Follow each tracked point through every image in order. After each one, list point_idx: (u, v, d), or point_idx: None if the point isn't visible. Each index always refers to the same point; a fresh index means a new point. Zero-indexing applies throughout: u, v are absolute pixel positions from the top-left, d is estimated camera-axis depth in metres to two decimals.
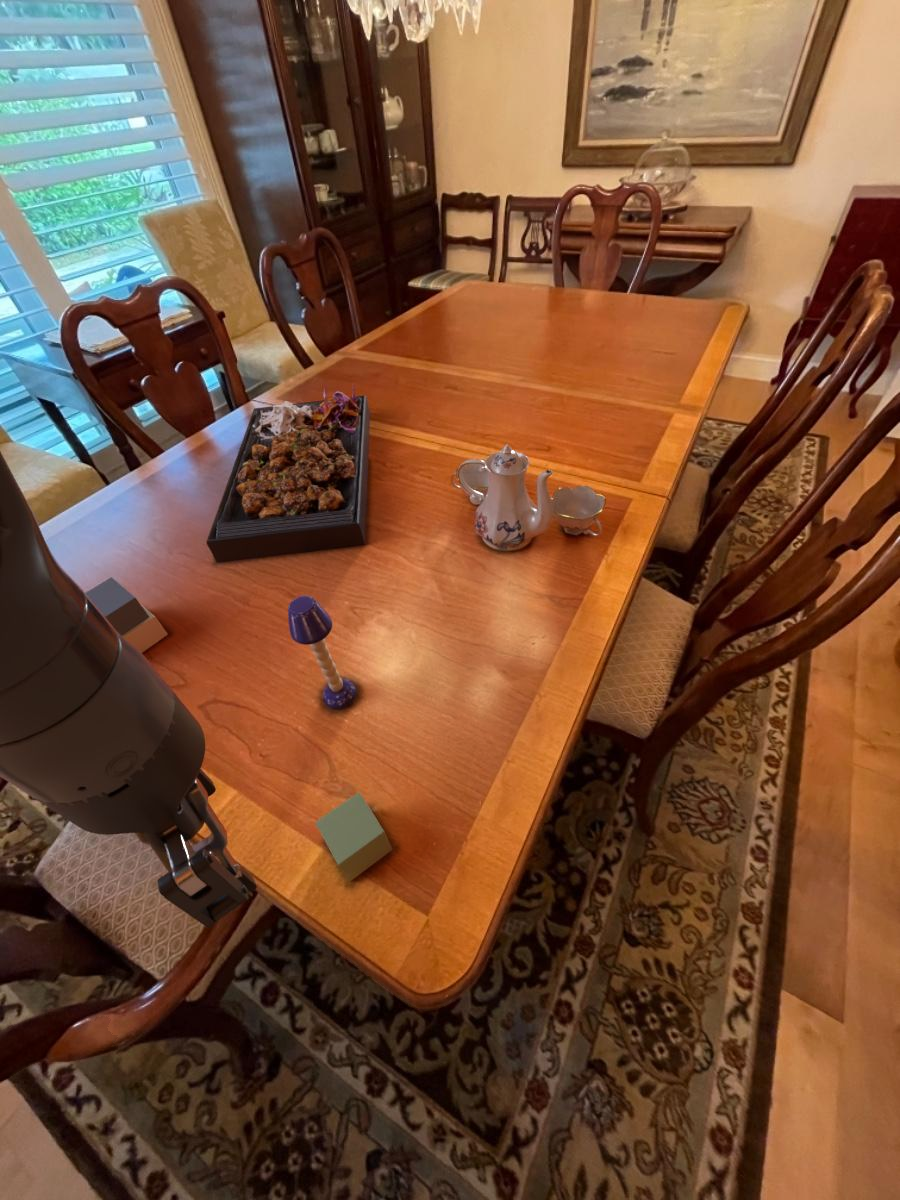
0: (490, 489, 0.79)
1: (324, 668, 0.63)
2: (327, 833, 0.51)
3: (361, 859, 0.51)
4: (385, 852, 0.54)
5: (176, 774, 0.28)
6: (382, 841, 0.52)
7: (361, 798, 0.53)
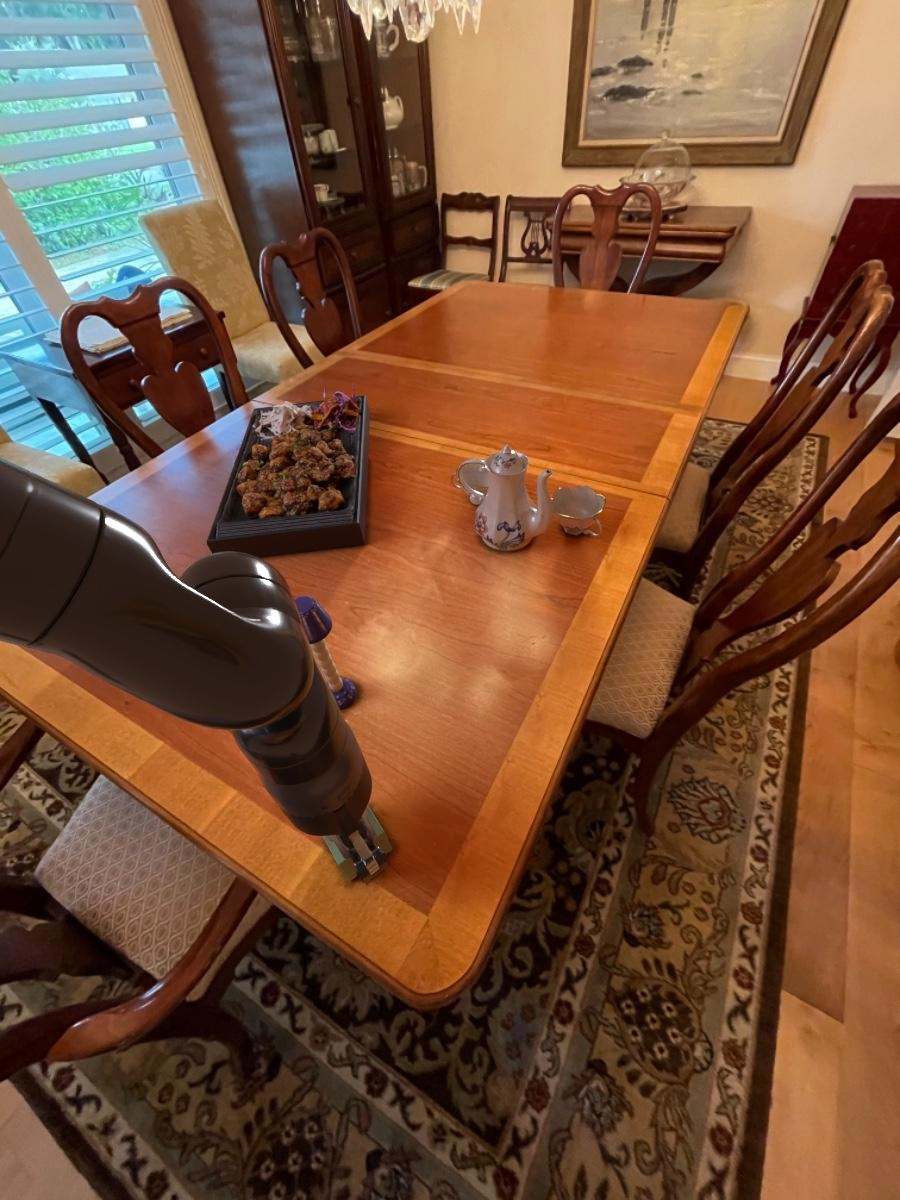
0: (490, 489, 0.79)
1: (324, 668, 0.63)
2: None
3: None
4: (385, 852, 0.54)
5: (363, 797, 0.43)
6: (382, 841, 0.52)
7: None
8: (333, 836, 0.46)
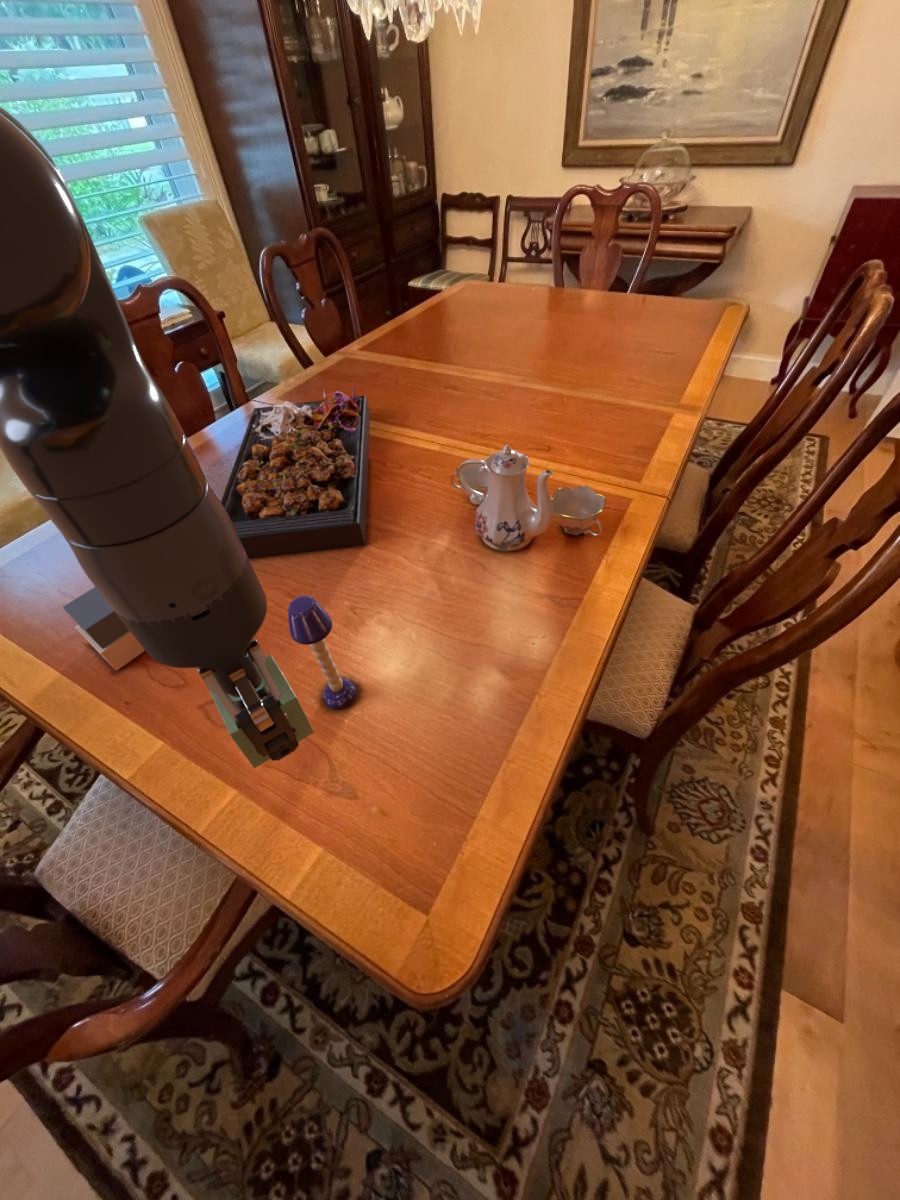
0: (490, 489, 0.79)
1: (324, 668, 0.63)
2: None
3: None
4: (304, 734, 0.41)
5: (246, 615, 0.31)
6: (295, 713, 0.39)
7: (272, 661, 0.41)
8: (214, 684, 0.34)
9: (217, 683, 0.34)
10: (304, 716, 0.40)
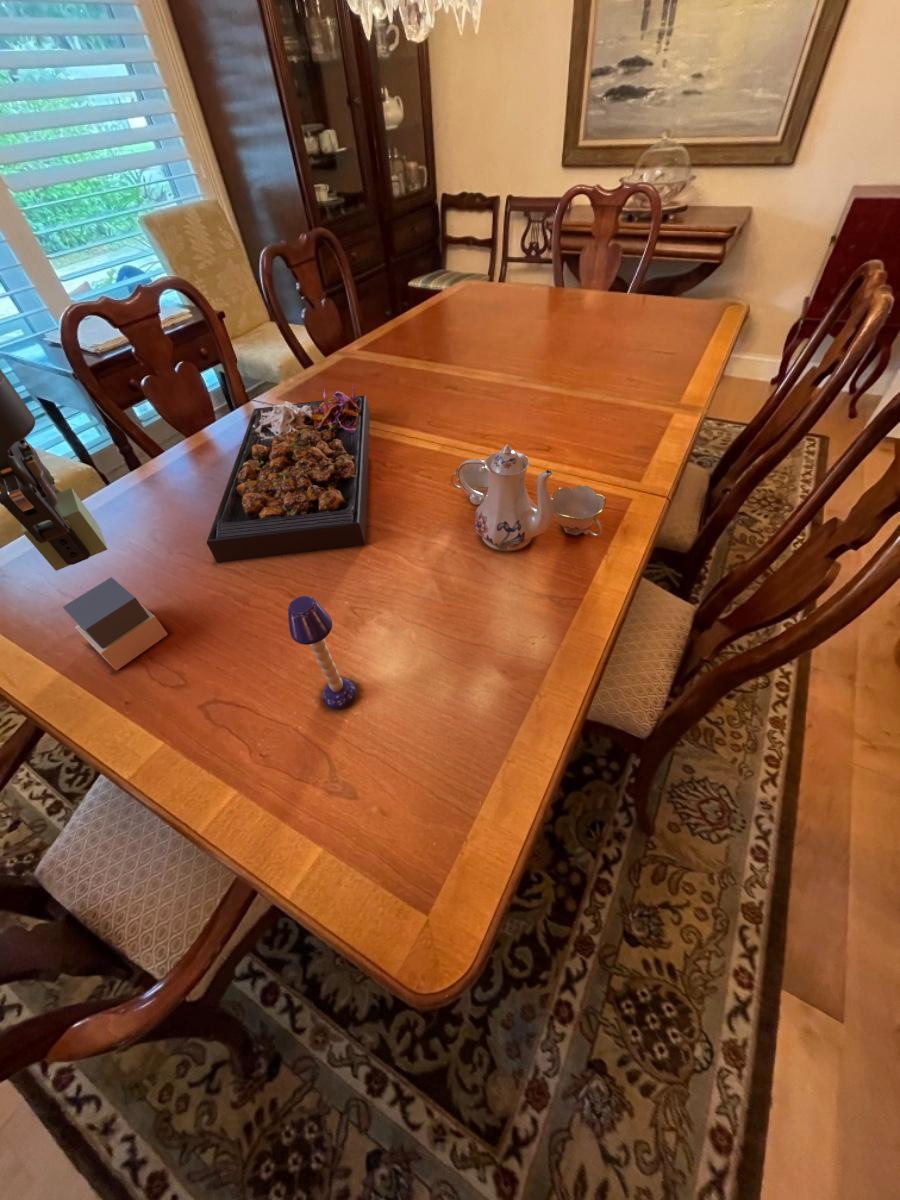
0: (490, 489, 0.79)
1: (324, 668, 0.63)
2: None
3: None
4: (97, 549, 0.54)
5: (3, 422, 0.43)
6: (82, 526, 0.52)
7: (70, 491, 0.53)
8: None
9: None
10: (92, 531, 0.53)
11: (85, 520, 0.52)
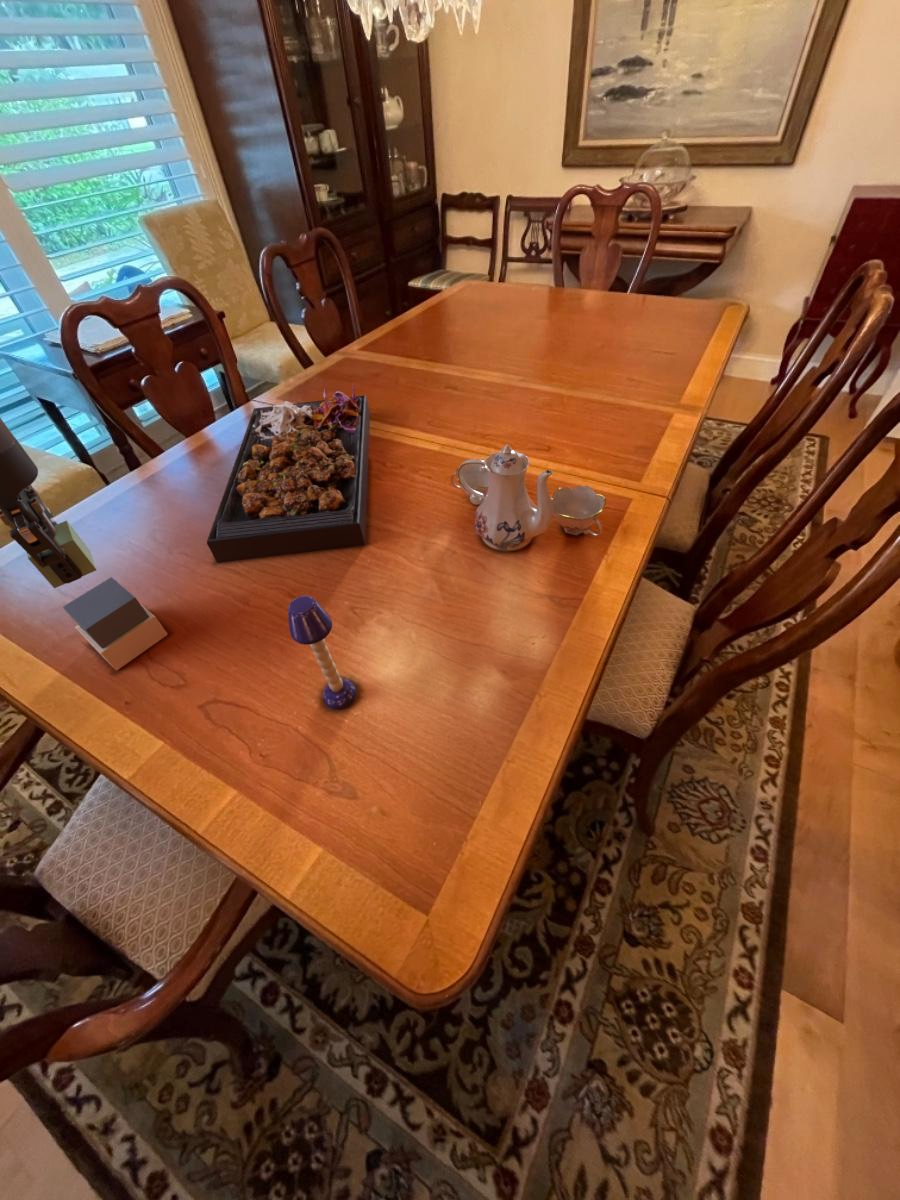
0: (490, 489, 0.79)
1: (324, 668, 0.63)
2: None
3: None
4: (88, 570, 0.66)
5: (14, 474, 0.56)
6: (76, 552, 0.64)
7: (66, 523, 0.66)
8: (8, 521, 0.59)
9: None
10: (84, 555, 0.65)
11: (78, 547, 0.64)
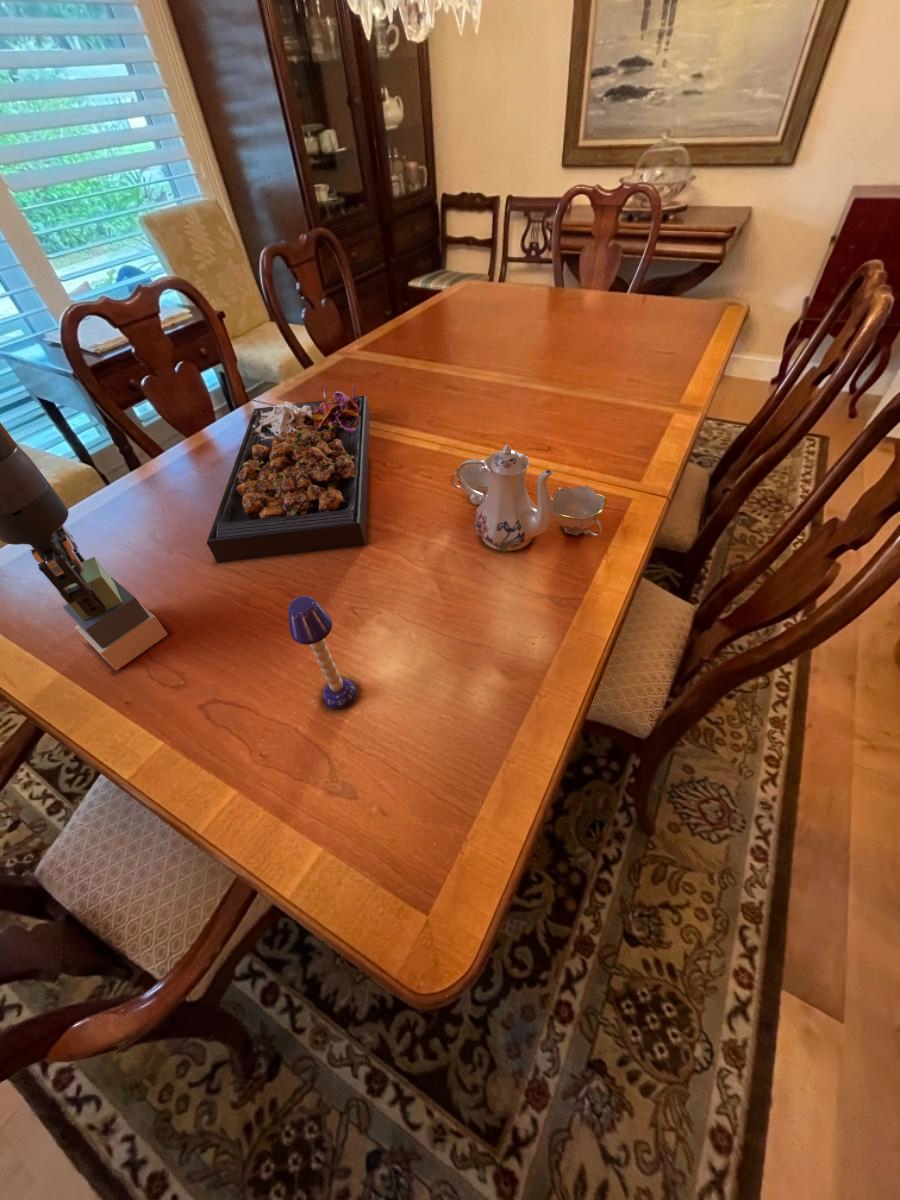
0: (490, 489, 0.79)
1: (324, 668, 0.63)
2: None
3: None
4: (115, 603, 0.71)
5: (48, 517, 0.60)
6: (104, 587, 0.69)
7: (94, 560, 0.70)
8: (39, 557, 0.63)
9: (41, 557, 0.63)
10: (111, 590, 0.69)
11: (106, 583, 0.69)
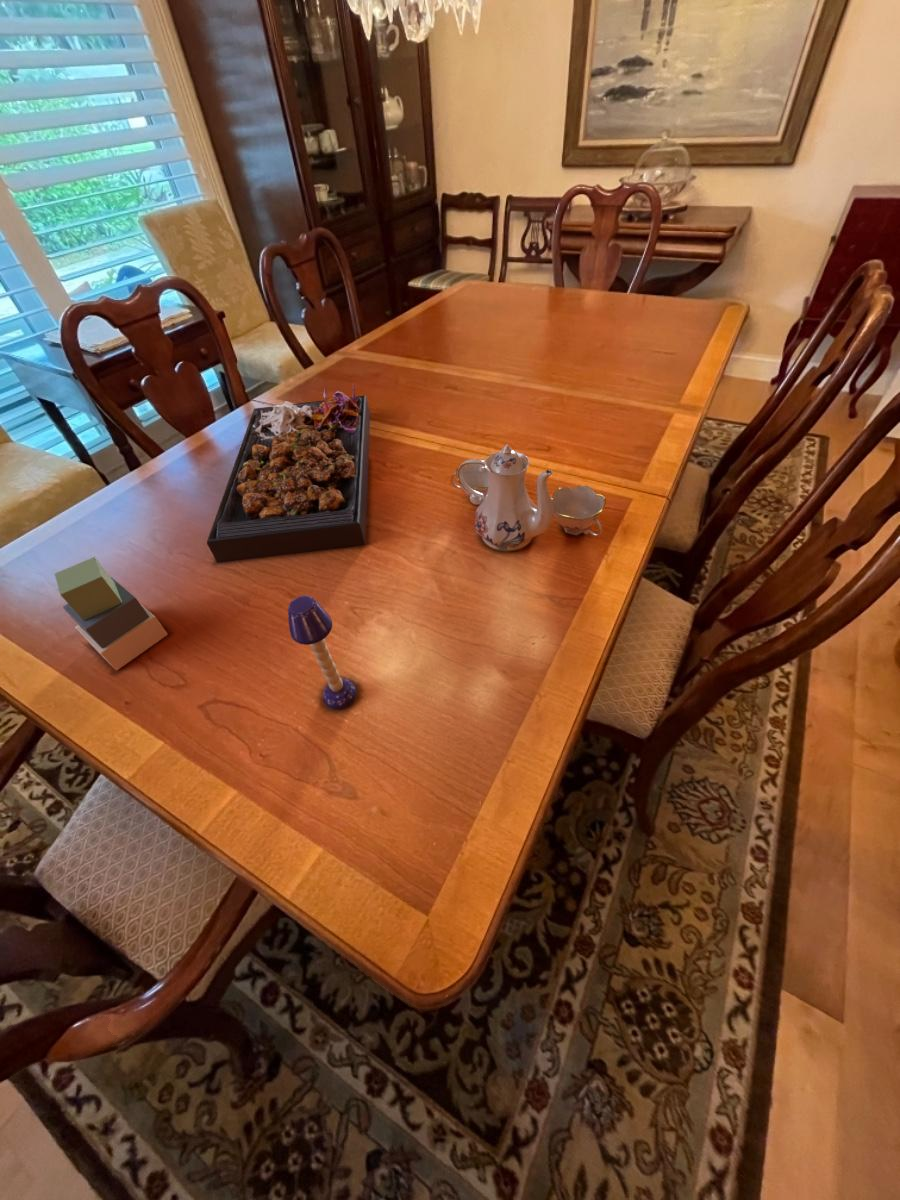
0: (490, 489, 0.79)
1: (324, 668, 0.63)
2: (60, 579, 0.68)
3: (87, 599, 0.68)
4: (115, 603, 0.71)
5: None
6: (104, 587, 0.69)
7: (94, 560, 0.70)
8: None
9: None
10: (111, 590, 0.69)
11: (106, 583, 0.69)
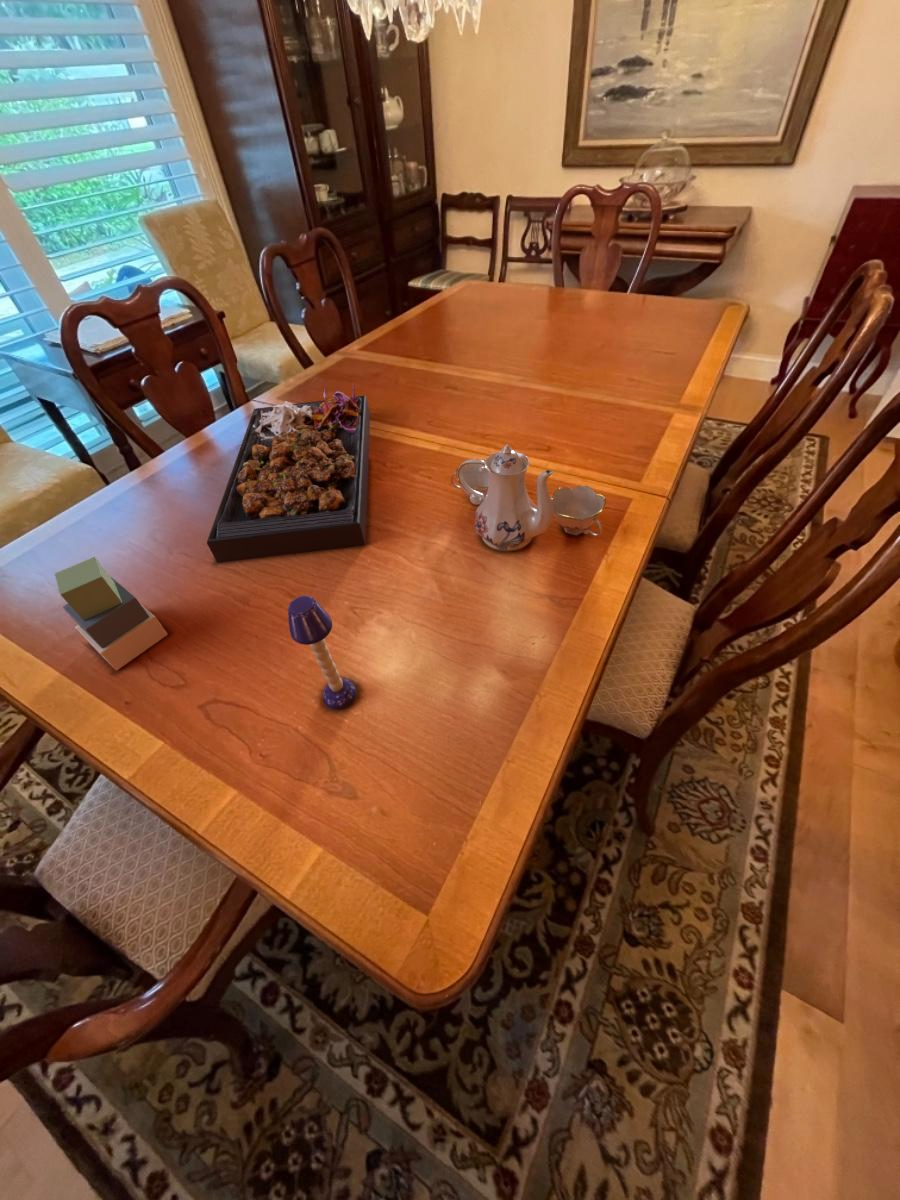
0: (490, 489, 0.79)
1: (324, 668, 0.63)
2: (60, 579, 0.68)
3: (87, 599, 0.68)
4: (115, 603, 0.71)
5: None
6: (104, 587, 0.69)
7: (94, 560, 0.70)
8: None
9: None
10: (111, 590, 0.69)
11: (106, 583, 0.69)
